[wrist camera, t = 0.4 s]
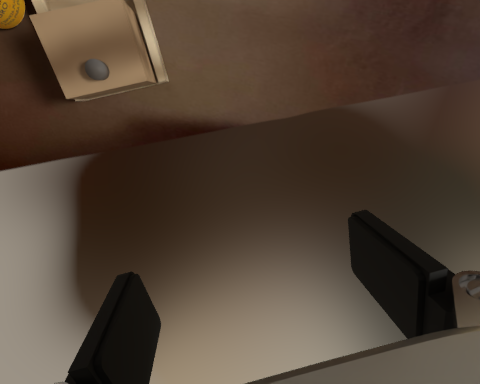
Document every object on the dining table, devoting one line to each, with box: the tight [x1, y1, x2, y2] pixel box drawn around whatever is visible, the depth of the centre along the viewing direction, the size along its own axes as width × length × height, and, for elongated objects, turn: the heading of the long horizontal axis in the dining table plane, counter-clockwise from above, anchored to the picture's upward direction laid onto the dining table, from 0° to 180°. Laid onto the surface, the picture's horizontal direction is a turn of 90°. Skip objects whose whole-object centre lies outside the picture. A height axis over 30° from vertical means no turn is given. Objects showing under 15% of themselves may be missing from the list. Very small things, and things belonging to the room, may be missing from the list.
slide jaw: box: [29, 0, 158, 99], centre depth 29 cm, size 8×9×7 cm
